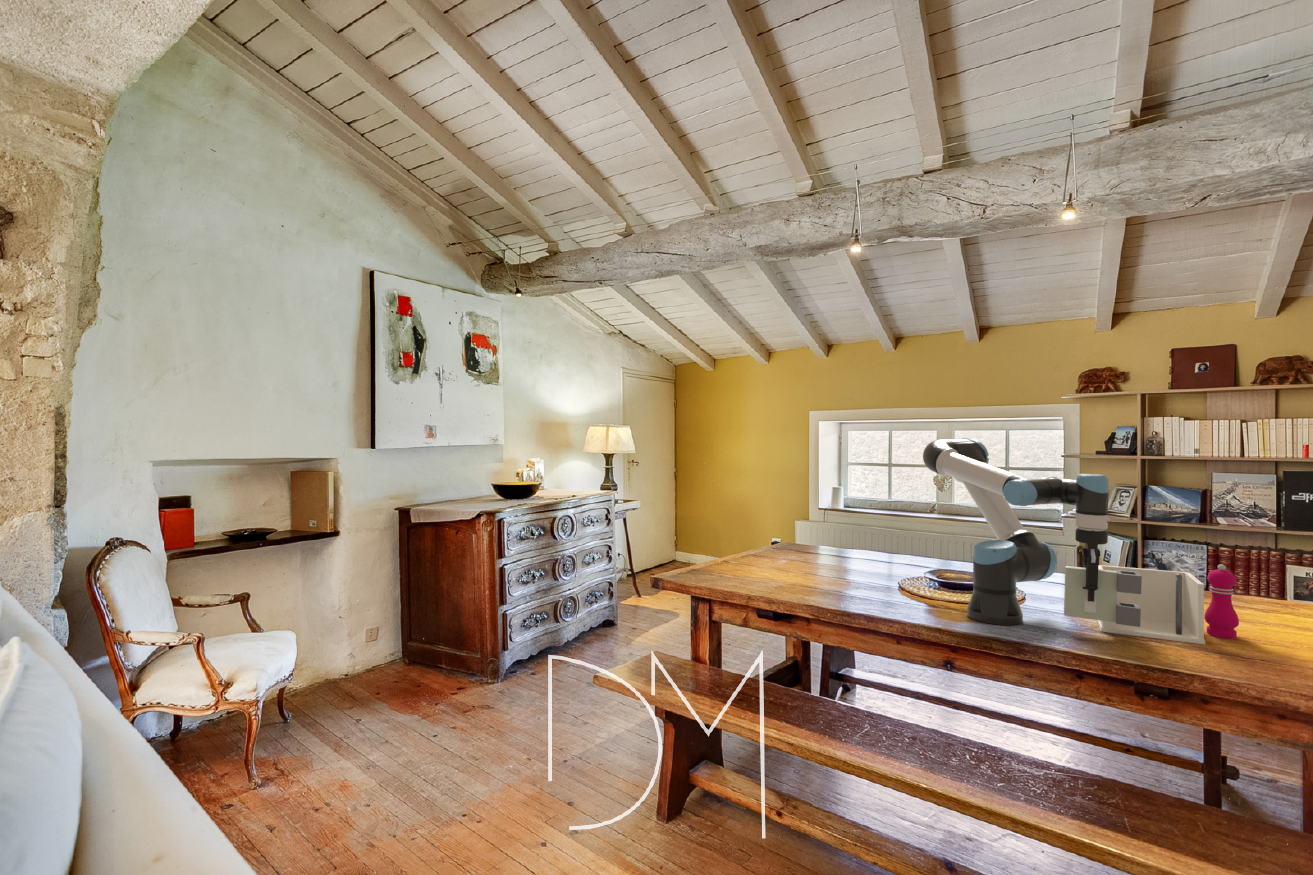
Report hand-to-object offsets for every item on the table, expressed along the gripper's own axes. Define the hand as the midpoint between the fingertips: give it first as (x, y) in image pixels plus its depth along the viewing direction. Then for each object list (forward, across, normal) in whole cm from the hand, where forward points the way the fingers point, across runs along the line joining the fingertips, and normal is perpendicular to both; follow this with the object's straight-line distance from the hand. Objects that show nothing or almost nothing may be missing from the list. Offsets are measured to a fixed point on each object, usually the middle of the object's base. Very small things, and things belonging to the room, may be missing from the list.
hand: (1089, 610), depth 178 cm
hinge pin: (+5, +7, -21) cm, 23 cm away
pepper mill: (+7, +16, -32) cm, 36 cm away
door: (+2, 0, -3) cm, 3 cm away
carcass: (+7, +12, -15) cm, 20 cm away
